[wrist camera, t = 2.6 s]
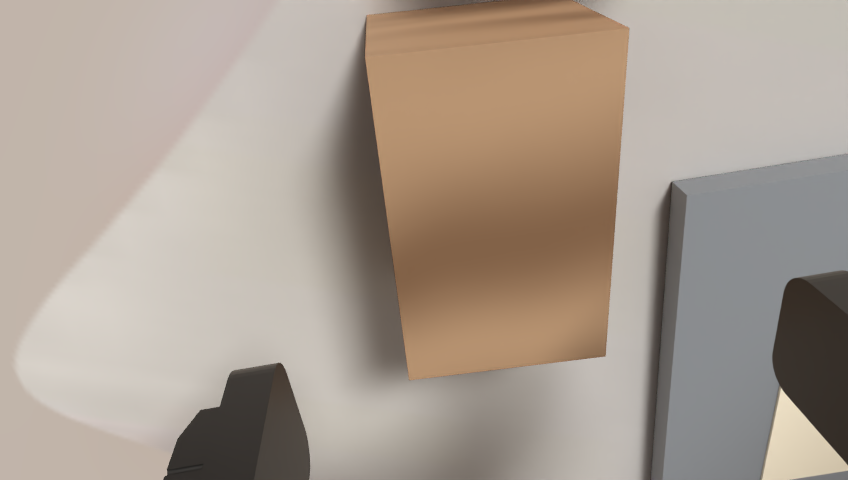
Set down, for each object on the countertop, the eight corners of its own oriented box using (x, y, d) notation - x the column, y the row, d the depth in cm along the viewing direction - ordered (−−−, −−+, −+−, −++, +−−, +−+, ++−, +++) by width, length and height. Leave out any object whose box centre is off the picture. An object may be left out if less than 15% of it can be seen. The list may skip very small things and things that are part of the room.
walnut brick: (366, 14, 16) (365, 57, 11) (558, -7, 16) (629, 27, 11) (400, 274, 20) (408, 380, 15) (553, 255, 20) (605, 356, 15)
